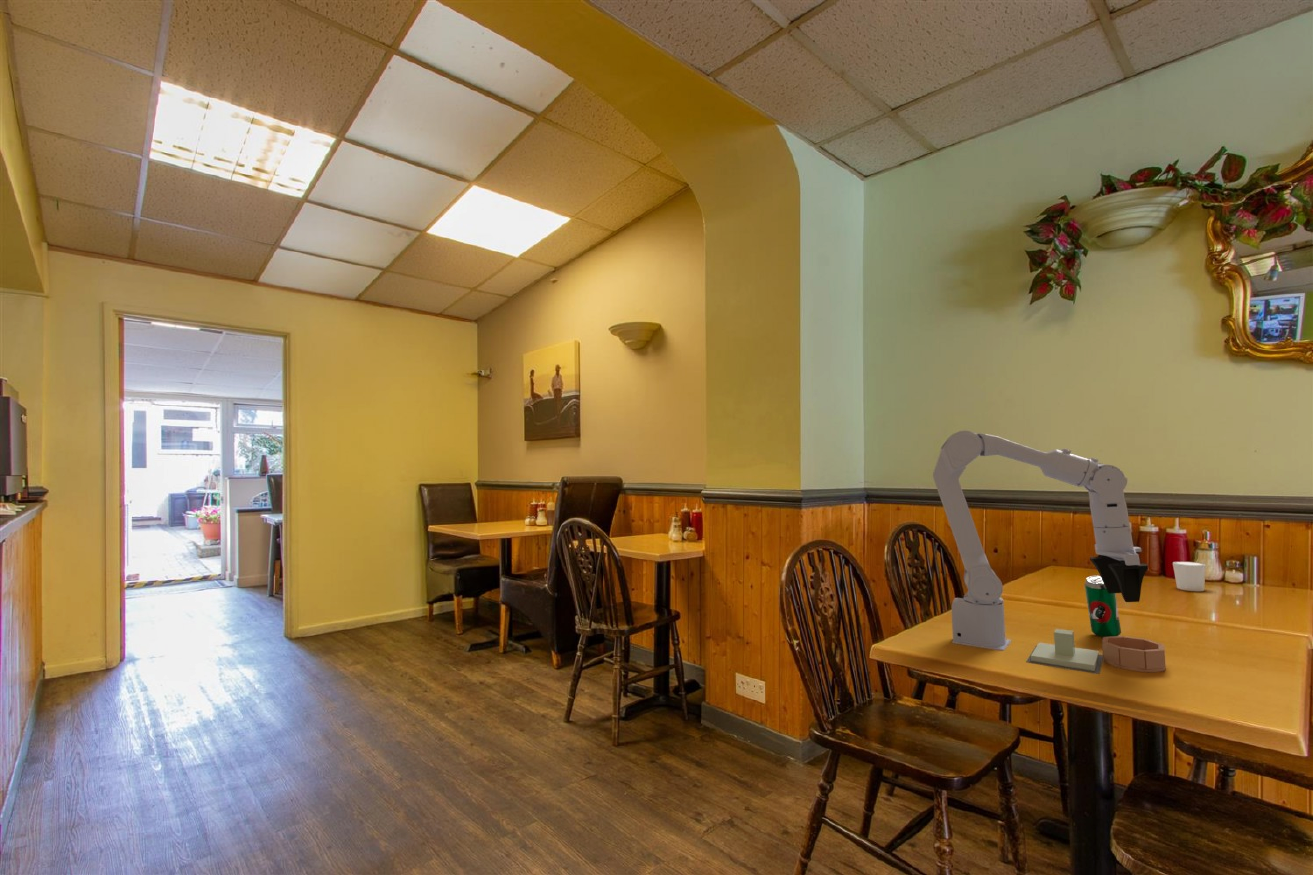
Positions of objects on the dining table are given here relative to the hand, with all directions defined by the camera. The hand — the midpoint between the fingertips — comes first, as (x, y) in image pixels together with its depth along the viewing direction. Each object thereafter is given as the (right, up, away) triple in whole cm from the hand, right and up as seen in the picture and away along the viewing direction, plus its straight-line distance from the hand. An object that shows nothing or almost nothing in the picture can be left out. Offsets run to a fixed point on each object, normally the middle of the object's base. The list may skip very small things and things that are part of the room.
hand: (1123, 597), depth 116 cm
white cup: (+57, -11, +50) cm, 77 cm away
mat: (-13, -11, -2) cm, 17 cm away
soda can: (+5, -11, +11) cm, 16 cm away
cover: (-13, -11, -2) cm, 17 cm away
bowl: (-3, -11, -6) cm, 13 cm away
